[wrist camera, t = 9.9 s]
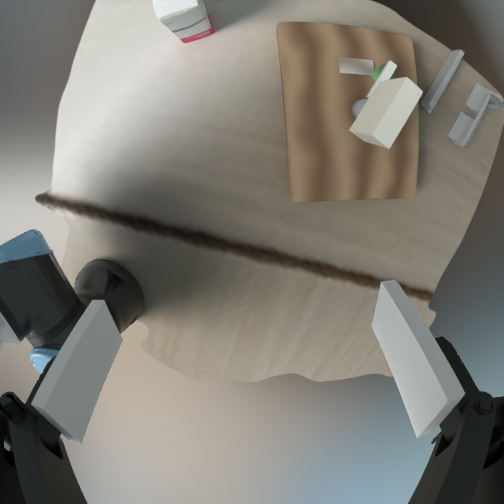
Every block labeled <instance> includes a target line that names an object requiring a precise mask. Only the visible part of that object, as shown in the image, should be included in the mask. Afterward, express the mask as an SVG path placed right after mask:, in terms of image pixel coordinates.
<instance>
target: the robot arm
mask: <svg viewBox="0 0 504 504" xmlns="http://www.w3.org/2000/svg"><path fill="white" fill-rule="evenodd" d="M143 304H144V299H143V293H142V291H141V288H140V286H139V284H138V283H137V281H136V280H135V278H134V277H133V276H132V275H131V274H130V273H129V272H128V271H127V270H125V269H124V268H123V267H121V266H119V265H118V264H115V263H113V262H110V261H106V260H95V261H91V262H89V263H88V264H86V265H85V266H84V267H83V269H82V270H81V271H80V272H79V274H78V276H77V278H76V281H75V287H74V289H73V287H72V286H71V284H70V283H69V281H68V279H67V278H66V276H65V274H64V273H63V271H62V269H61V267H60V266H59V264H58V262H57V260H56V258H55V256H54V254H53V250H51V249H50V248H49V246H48V244H47V242H46V241H45V239H44V237H43V235H42V234H41V233H40V232H39V231H37V230H35V229H32V230H29V231H27V232H24V233H23V234H21V235H19V236H17V237H15V238H13V239H11V240H9V241H8V242H6V243H4V244H2V245H1V246H0V348H1V347H2V346H3V345H4V344H5V343H15V344H19V343H20V342H21V341H22V340H23V339H24V337H26V338H27V339H28V341H29V342H30V343H31V344H32V345H33V347H34V348H33V349H32V350H31V355H30V359H31V361H32V363H33V365H34V367H35V368H36V369H37V370H38V371H39V372H40V373H41V375H40V377H39V380H38V381H37V383H36V384H35V386H34V388H33V390H32V392H31V394H30V396H29V398H28V400H27V402H26V403H25V404H24V403H23V402H22V401H21V400H20V399H19V398H18V397H17V396H16V395H15V394H14V393H13V392H6V393H4V394H3V395H2V396H1V397H0V504H87V502H86V500H85V497H84V495H83V493H82V491H81V489H80V486H79V484H78V482H77V479H76V477H75V474H74V472H73V469H72V467H71V464H70V461H69V458H68V455H67V453H66V449H65V446H64V443H63V441H62V439H61V438H60V434H61V433H62V434H63V435H64V436H65V437H66V438H68V439H69V440H72V441H75V442H78V443H81V444H82V441H83V438H84V434H85V432H86V429H87V426H88V423H89V421H90V418H91V415H92V413H93V410H94V407H95V405H96V402H97V400H98V397H99V394H100V392H101V390H102V387H103V385H104V382H105V380H106V377H107V375H108V373H109V370H110V368H111V366H112V363H113V361H114V359H115V357H116V354H117V352H118V350H119V348H120V345H121V343H122V341H123V339H122V337H121V335H120V334H121V333H122V332H123V331H124V330H125V329H127V328H128V327H129V326H130V325H131V324H132V323H134V322H135V321H136V320H137V318H138V317H139V315H140V313H141V311H142V308H143ZM372 328H373V330H374V333H375V335H376V337H377V339H378V341H379V344H380V346H381V348H382V350H383V353H384V355H385V357H386V360H387V362H388V364H389V367H390V369H391V372H392V374H393V376H394V379H395V381H396V384H397V386H398V389H399V391H400V394H401V396H402V399H403V401H404V404H405V407H406V409H407V412H408V415H409V417H410V420H411V423H412V426H413V429H414V432H415V434H416V437H417V438H419V437H421V436H424V435H427V434H430V433H432V432H434V431H435V429H436V428H437V427H438V426H439V425H440V428H441V430H442V431H441V432H440V433H439V434H438V435H437V436H436V437H435V438H434V439H433V441H432V442H431V443H432V444H433V443H435V442H436V441H437V442H436V444H435V447H434V450H433V452H432V455H431V457H430V459H429V462H428V464H427V467H426V469H425V471H424V473H423V475H422V477H421V479H420V482H419V483H418V486H417V487H416V489H415V491H414V493H413V495H412V497H411V499H410V501H409V503H408V504H504V397H496V398H493V397H492V396H491V395H490V394H488V393H486V392H482V391H479V390H478V388H477V387H476V385H475V383H474V382H473V379H472V377H471V376H470V374H469V372H468V370H467V369H466V367H465V366H464V364H463V362H461V359H460V357H459V355H457V352H456V350H455V349H454V347H453V346H452V344H451V343H450V342H449V341H447V340H446V339H445V338H444V337H438V338H434V337H433V335H432V334H431V332H430V331H429V329H428V327H427V326H426V324H425V323H424V321H423V320H422V318H421V316H420V315H419V313H418V312H417V310H416V309H415V307H414V306H413V304H412V303H411V301H410V300H409V298H408V297H407V296H406V294H405V293H404V291H403V290H402V288H401V287H400V286H399V284H398V283H397V281H396V280H389V281H382V282H381V285H380V290H379V295H378V300H377V304H376V309H375V313H374V318H373V322H372ZM4 442H5V443H6V444H7V445H8V446H10V450H9V451H8V450H6V449H5V448H4Z"/></svg>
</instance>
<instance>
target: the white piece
mask: <svg viewBox="0 0 504 504" xmlns="http://www.w3.org/2000/svg"><path fill="white" fill-rule="evenodd" d="M396 67H397V65H396V64H394V63H393V62H392V61H391V60H390V61H388V62H387V64H386V66H385V67H384V69H383V70H382V72H381V74H380V75H379V77H378V79H377V80H376V82H375V83H374V85H373V87H372V88H371V90H370V91H369V93H368V95H367V96H366V97H367V98H368V99H358V100H355V101H353V102H352V103H351V105H350V114H351V116H352V117H353V118H354V119H355V121H354V123H353V124H352V126H351V128H350V129H349V131H351V132H352V133H353V134H355V135H356V136H358V137H359V138H360V139H362V140H363V141H365V142H368V143H371V144H375V145H378V146H381V147H384V148H387V149H390V147H391V145H392V144H393V142H394V141H395V139H396V137H397V136H398V134H399V132H400V131H401V129H402V127H403V126H404V124H405V122H406V121H407V119H408V117H409V116H410V114H411V112H412V111H413V109H414V107H415V105H416V104H417V102H418V100H419V99H420V97H421V95H422V93H423V91H422V90H421V89H420V88H419V87H418V86H417V85H416V84H414V83H413V82H412V81H411V80H410V79H409V78H408V77H403V78H397V79H390V77H391V76H392V74H393V72H394V71H395V69H396ZM389 79H390V80H389Z"/></svg>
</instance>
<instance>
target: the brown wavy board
mask: <svg viewBox="0 0 504 504" xmlns="http://www.w3.org/2000/svg"><path fill="white" fill-rule="evenodd" d="M276 32H277V40H278V49H279V58H280V68H281V79H282V89H283V101H284V113H285V126H286V141H287V156H288V174H289V194H290V197H291V199H292V201H293V202H309V201H328V200H352V199H388V198H415V196H416V185H417V172H418V152H419V108H418V102H417V104H416V105H415V107H414V109H413V111H412V112H411V114H410V116H409V117H408V119H407V121H406V122H405V124H404V126H403V127H402V129H401V131H400V132H399V134H398V136H397V137H396V139H395V141H394V142H393V144H392V145H391V147H390V149H387V148H384V147H381V146H378V145H375V144H371V143H368V142H365V141H363V140H362V139H360V138H359V137H358V136H356V135H355V134H353V133H352V132H351V131H349V129H350V128H351V126H352V124H353V123H354V121H355V119H354V118H353V117H352V116H351V114H350V105H351V103H352V102H353V101H355V100H358V99H368V98H367V97H366V96H367V95H368V93H369V91H370V90H371V88H372V87H373V85H374V83H375V82H376V80H377V79H378V77H379V75H380V74H381V72H382V70H383V69H384V67H385V66H386V64H387V62H388V61H390V60H391V61H392V62H393V63H394V64H396V65H397V67H396V69H395V71H394V72H393V74H392V76H391V77H390V79H397V78H403V77H408V78H409V79H410V80H411V81H412V82H413V83H414V84H416V85H417V76H416V66H415V57H414V49H413V43H412V38H410V37H406V36H402V35H398V34H394V33H389V32H384V31H379V30H373V29H368V28H361V27H354V26H346V25H337V24H326V23H310V22H279V23H278V26H277V30H276ZM390 79H389V80H390Z"/></svg>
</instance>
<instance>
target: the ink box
mask: <svg viewBox="0 0 504 504" xmlns="http://www.w3.org/2000/svg"><path fill="white" fill-rule="evenodd" d="M153 4H154V9H155V12H156V16H157V17H158V18H159V20H160V22H162V23H163V24H164V25H165V26H166V27H167V28H168V29H170V30H171V31H172V32H173V33H174V34H175V35H176V36H177V37H178V38H179V39H180V40H181V41H182V42H183V43H187V42H190V41H194V40H197V39H200V38H203V37H206V36H208V35H210V34H212V33H213V29H212V26H211V23H210V20H209V17H208V14H207V11H206V8H205V5H204V2H203V0H153Z"/></svg>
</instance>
